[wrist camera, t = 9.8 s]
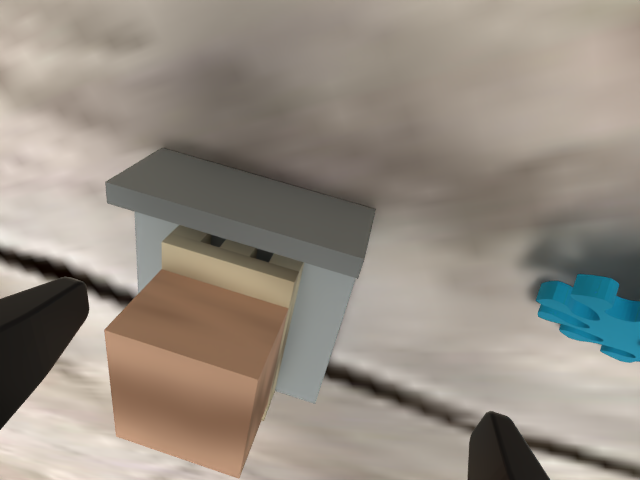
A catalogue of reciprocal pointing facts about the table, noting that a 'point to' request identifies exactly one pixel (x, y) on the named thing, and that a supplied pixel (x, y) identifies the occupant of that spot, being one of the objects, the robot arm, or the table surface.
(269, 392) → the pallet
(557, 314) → the gear
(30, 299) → the robot arm
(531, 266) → the table surface
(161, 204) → the dock
